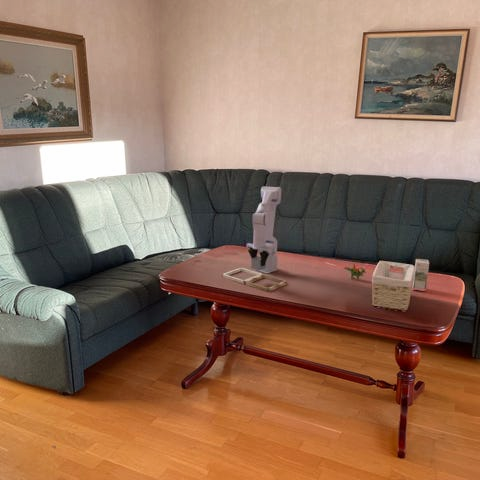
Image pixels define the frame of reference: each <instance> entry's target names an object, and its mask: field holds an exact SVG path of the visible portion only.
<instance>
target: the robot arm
mask: <svg viewBox="0 0 480 480" xmlns="http://www.w3.org/2000/svg"><path fill="white" fill-rule="evenodd" d="M260 197H261V200H262V201H261V202H260V203H258V206H257V208H256V211H255V213H253V214H252V228H253V240H252V243H251V242H247V243H246V248H247V249H248V250H247V252H248V254H249V255H250V258H255V257H258V254H259V257H261V266H265V263H266V268H265V269H262V270H260V271H259V270H256V272H260V273H261V272H262V273H265V274H271V273H273V272H275V271H278V270H279V268H278V259H279V257H278V256H277V252H278V240H277V238H276V237H274V236H273V235H274V227H275V226H274V225H275V220H276V219H275V218H276V211H277V210H276V209H277V206H278V205H279V204H280V203H281V202H282V188H281V186H264V185H262V187H261V188H260Z"/></svg>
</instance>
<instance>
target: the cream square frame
mask: <svg viewBox="0 0 480 480" xmlns="http://www.w3.org/2000/svg"><path fill="white" fill-rule="evenodd" d="M240 272H243V273H247V274H250V275H253V276H251V277H248V278H247V279H241V278H237V277H234V276H231V275H234V274H237V273H240ZM262 274H263V273H261V272H259V271H254V270H250V269H248V268H244V267H240V268H236V269H234V270H230V271H227V272H224V273H221V278H224V279H227V280H230V281H233V282H237V283H239V284H243V285H245V281H247V280H249V279H252V278H255V277H257V276H260V275H262Z"/></svg>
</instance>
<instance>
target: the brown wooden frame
mask: <svg viewBox="0 0 480 480" xmlns="http://www.w3.org/2000/svg"><path fill="white" fill-rule="evenodd" d="M261 274H262V275H260V276H257V277H255V278H252V279H249V278H248V279H249V280H247V281H245V284H244V285H246V286H248V287H252V288H255V289H259V290H261V291H265V292H268V293H269V292H271V291H274V290H276V289H279V288H281V287H284V286H286V285H287V284H288V280H285V279H281V278H278V277H275V276H271V275H269V274H266V273H265V274H263V273H261ZM261 279H267V280H270V281H274V282H277V284H274V285H272V286H270V287H266V286H263V285H260V284H258V283H257V284H256V283H254V282H255V281H259V280H261Z"/></svg>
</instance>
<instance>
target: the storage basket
mask: <svg viewBox="0 0 480 480" xmlns="http://www.w3.org/2000/svg"><path fill="white" fill-rule="evenodd" d="M391 269H396V270H397V269H398V270H402V273H400V272H393V271H391ZM414 272H415V265H413V264H407V263H403V262H402V263H401V262H395V261H394V262H393V261H385V260H379V262H377V265H376V266H375V269H374V270H373V273H372V279H371V284H372V287H371V288H372V289H371V290H372V291H371V292H372V294H371V295H372V297H371V298H372V306H373V305H374V306H383V307H390V308H397V309H404V310H408V308H409V305H410V301H411V295H412V294H411V293H412V288H413V278H414ZM374 306H373V307H374Z"/></svg>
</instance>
